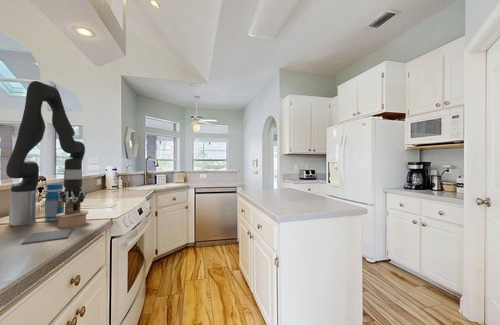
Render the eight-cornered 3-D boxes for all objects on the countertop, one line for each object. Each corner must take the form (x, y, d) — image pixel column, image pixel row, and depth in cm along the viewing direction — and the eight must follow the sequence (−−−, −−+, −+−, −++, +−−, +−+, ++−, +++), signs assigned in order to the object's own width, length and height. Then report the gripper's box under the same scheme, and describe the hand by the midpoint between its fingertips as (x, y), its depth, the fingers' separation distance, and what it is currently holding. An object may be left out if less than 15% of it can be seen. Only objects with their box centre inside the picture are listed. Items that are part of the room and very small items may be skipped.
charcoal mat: (21, 244, 86) (21, 243, 86) (32, 234, 98) (32, 233, 98) (67, 238, 93) (67, 237, 93) (72, 229, 105) (72, 228, 105)
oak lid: (49, 217, 108) (49, 203, 108) (72, 211, 121) (73, 199, 121) (72, 218, 107) (72, 204, 107) (94, 212, 120) (94, 200, 120)
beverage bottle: (44, 221, 119) (45, 185, 119) (44, 218, 124) (44, 183, 124) (65, 218, 125) (65, 184, 125) (63, 216, 130) (63, 183, 130)
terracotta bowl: (52, 226, 109) (52, 216, 109) (72, 221, 120) (72, 212, 120) (72, 227, 108) (72, 217, 108) (90, 221, 119) (91, 212, 119)
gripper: (54, 178, 111) (53, 212, 111) (79, 178, 110) (78, 213, 110) (67, 177, 118) (67, 208, 118) (91, 177, 117) (91, 209, 117)
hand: (72, 210), depth 114 cm, fingers closed on oak lid, 3 cm apart
